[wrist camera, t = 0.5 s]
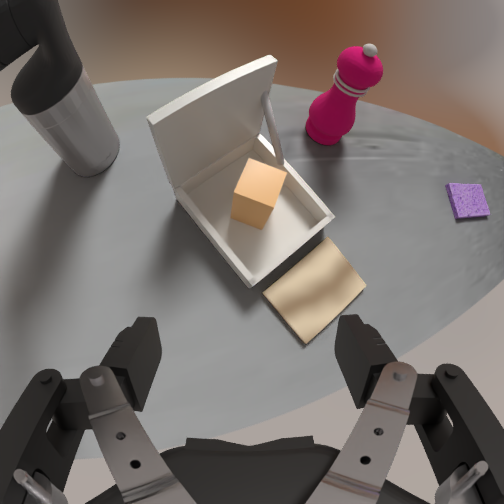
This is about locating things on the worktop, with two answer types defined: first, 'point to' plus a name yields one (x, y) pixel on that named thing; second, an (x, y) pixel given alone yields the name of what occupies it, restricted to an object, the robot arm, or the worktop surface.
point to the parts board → (315, 290)
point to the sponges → (467, 200)
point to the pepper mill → (344, 94)
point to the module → (256, 193)
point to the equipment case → (234, 168)
